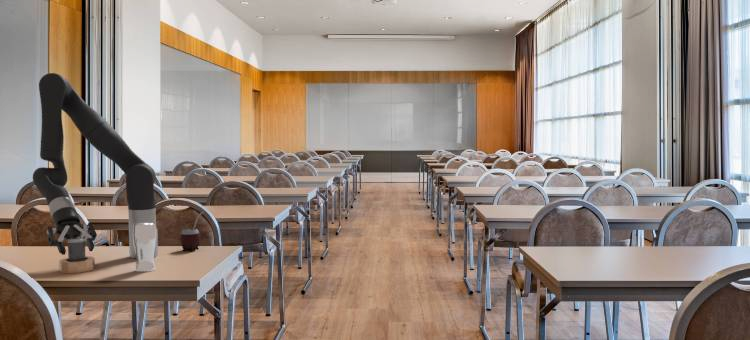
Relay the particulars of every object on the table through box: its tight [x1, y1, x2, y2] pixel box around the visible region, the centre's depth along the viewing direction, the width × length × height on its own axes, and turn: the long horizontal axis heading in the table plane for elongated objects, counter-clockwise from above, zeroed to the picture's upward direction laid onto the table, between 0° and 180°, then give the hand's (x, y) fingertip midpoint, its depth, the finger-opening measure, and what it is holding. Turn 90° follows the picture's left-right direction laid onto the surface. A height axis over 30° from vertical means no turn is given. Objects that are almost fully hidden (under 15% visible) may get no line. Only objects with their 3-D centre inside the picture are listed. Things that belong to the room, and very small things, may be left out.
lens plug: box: [67, 238, 86, 261], centre depth 200 cm, size 5×5×10 cm
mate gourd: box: [180, 210, 205, 252], centre depth 234 cm, size 8×8×15 cm
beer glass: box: [133, 222, 157, 273], centre depth 198 cm, size 7×7×15 cm
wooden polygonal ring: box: [58, 255, 96, 274], centre depth 200 cm, size 10×10×4 cm
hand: (78, 251), depth 199 cm, fingers open, 8 cm apart
